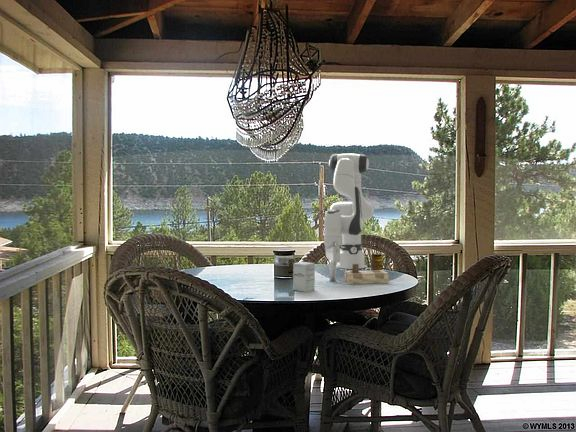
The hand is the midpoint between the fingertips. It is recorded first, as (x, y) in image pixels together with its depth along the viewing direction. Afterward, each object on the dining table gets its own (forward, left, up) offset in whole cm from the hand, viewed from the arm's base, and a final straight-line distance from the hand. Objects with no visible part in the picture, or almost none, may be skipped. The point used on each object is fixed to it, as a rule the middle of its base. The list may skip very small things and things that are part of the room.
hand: (332, 268), depth 276 cm
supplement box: (+23, -18, -6) cm, 30 cm away
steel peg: (0, 0, -6) cm, 6 cm away
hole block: (+5, +16, -6) cm, 18 cm away
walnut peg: (+5, +10, -6) cm, 13 cm away
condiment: (-11, +25, -6) cm, 28 cm away
